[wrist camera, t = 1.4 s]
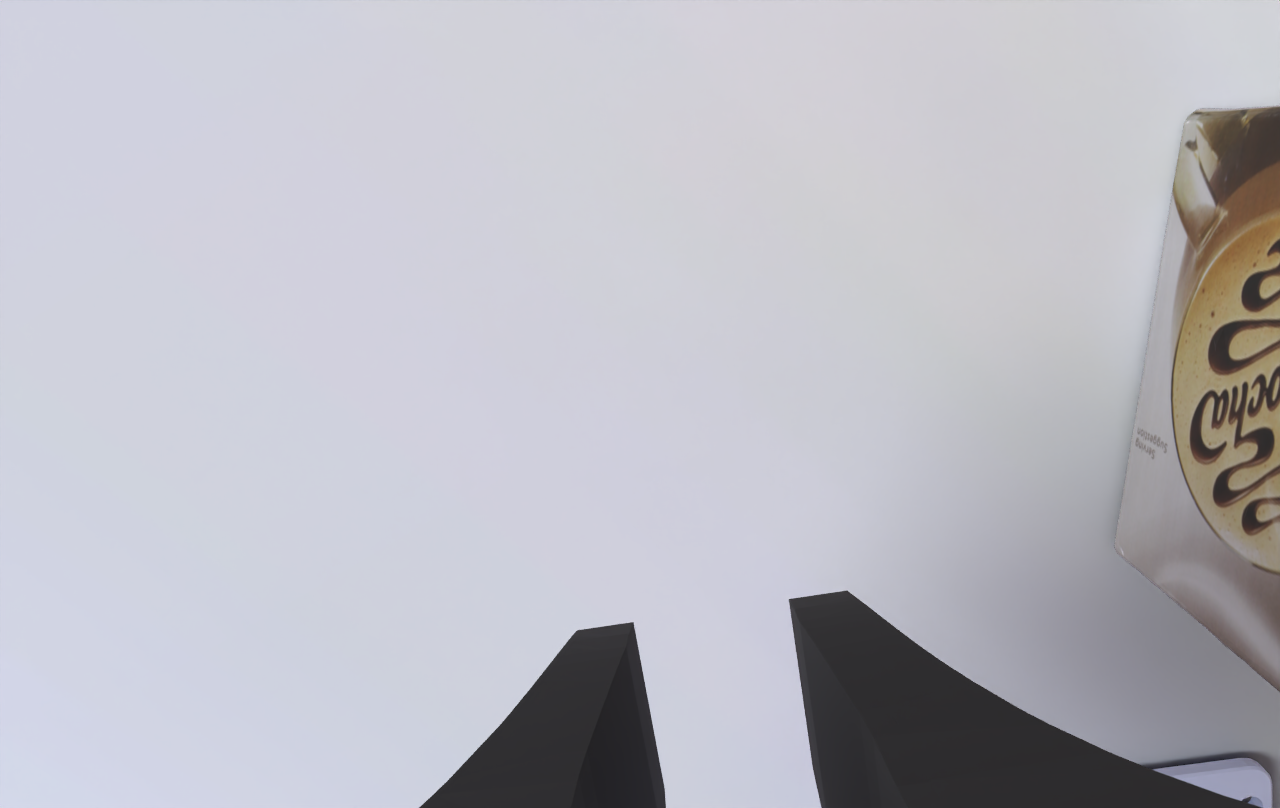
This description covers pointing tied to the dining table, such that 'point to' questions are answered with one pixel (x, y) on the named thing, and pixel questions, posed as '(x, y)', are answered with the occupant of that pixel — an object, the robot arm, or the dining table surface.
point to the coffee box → (1215, 391)
